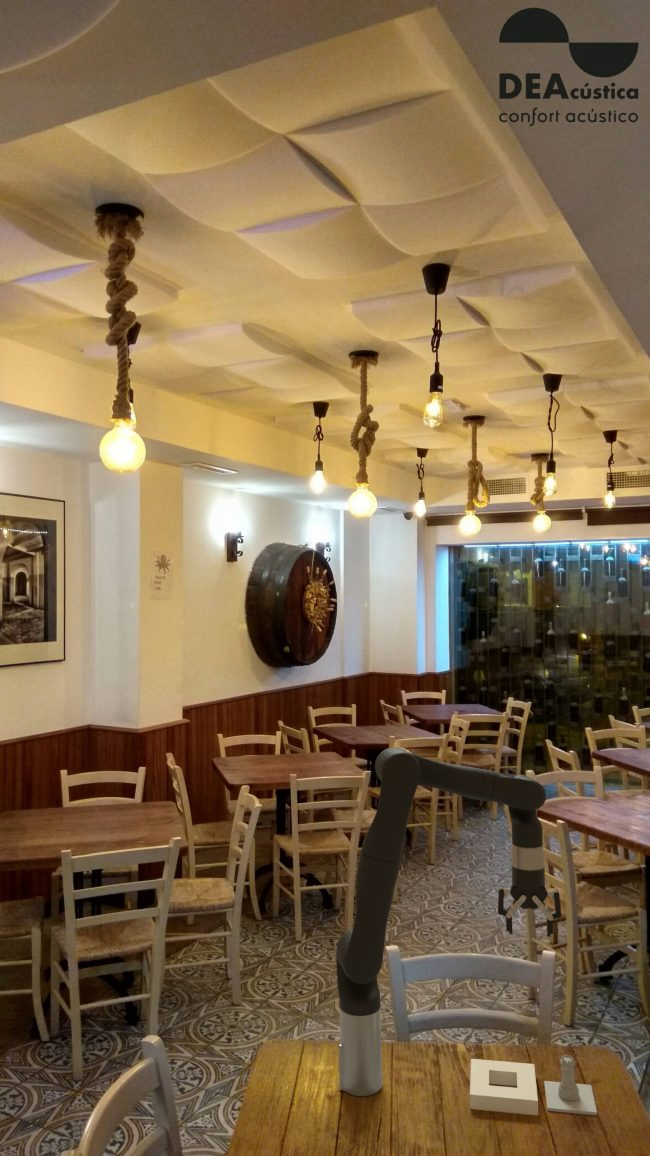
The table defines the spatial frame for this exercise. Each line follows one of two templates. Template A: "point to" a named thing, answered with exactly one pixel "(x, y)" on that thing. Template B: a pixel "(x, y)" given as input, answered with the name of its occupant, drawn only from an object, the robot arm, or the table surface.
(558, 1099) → the grey mat
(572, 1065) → the rook chess piece
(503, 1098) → the pocket holder
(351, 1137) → the table surface
